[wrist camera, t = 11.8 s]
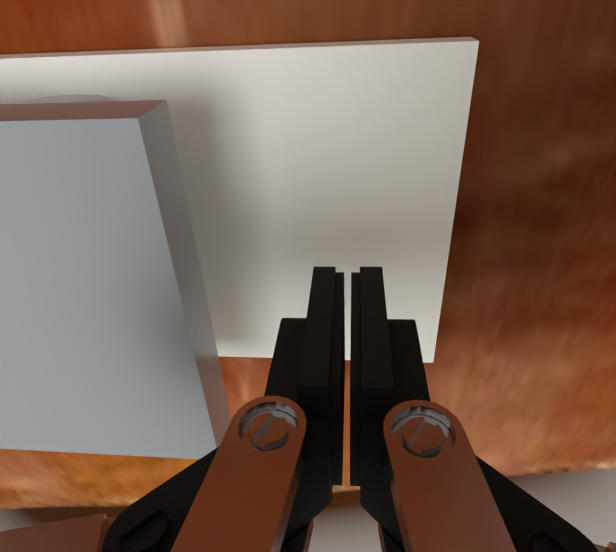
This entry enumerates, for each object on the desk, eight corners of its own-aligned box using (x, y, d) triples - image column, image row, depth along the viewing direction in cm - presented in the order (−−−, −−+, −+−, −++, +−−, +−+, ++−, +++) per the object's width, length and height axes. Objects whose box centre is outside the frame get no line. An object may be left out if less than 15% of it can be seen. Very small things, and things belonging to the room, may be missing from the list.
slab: (166, 100, 10) (137, 118, 8) (231, 419, 15) (219, 460, 14) (-252, 110, 10) (-335, 129, 9) (-49, 407, 16) (-84, 444, 15)
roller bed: (471, 36, 12) (549, 76, 7) (429, 345, 18) (457, 483, 13) (-402, 70, 15) (-780, 115, 10) (-191, 328, 21) (-361, 437, 16)
